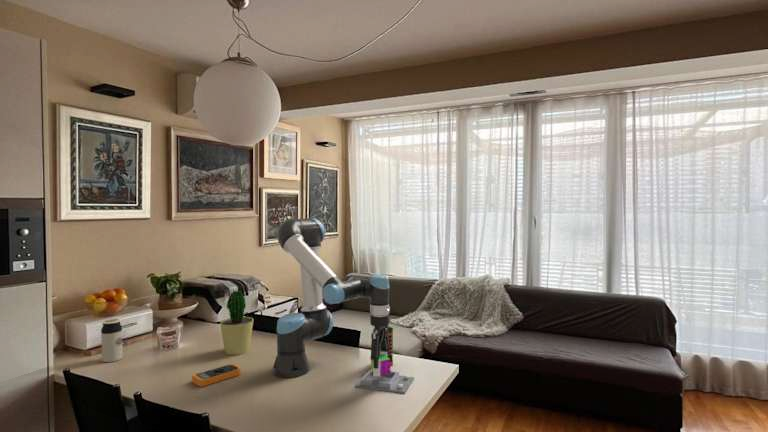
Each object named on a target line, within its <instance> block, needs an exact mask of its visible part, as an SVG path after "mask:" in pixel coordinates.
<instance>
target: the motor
mask: <svg viewBox="0 0 768 432" xmlns="http://www.w3.org/2000/svg"><path fill="white" fill-rule="evenodd" d="M374 329H375V327H373V329H372V333H374ZM388 339H389V348H388V349H389V351H387V357H388V358H390V368H392V367H393V365H394V359H393V358H394V357H393V356H394V355H393V354H394V353H393V351H394V350H393V349H394V327H392V326H388ZM380 352H381V348H380ZM391 366H392V367H391Z"/></svg>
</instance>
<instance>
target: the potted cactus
mask: <svg viewBox="0 0 768 432" xmlns="http://www.w3.org/2000/svg"><path fill="white" fill-rule="evenodd" d="M226 298H227V301H226V304H225V305H226V306H225V308H226V311H228V314H229V317H228V318H224V319H222V320H221V321H220V322H219V324H220V332H221V336H222V343H223V344H222V345H223V349H224V354H225V355H228V356H239V355H243V354H246V352H247V353H248V352H250V349H251V343H252V341H251V340H252V334H253V326H254V321H255V320H254V318H253V317H249V316H245V315H244V314H246V312H245V310H246V309H247V304H248V303H247V302H246V298H245V296H244V293H243V291H242V290H232V291H231V293H229V294H228V297H226Z"/></svg>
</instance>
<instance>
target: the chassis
mask: <svg viewBox="0 0 768 432" xmlns="http://www.w3.org/2000/svg"><path fill="white" fill-rule="evenodd" d="M390 371H391V373H390V374H386V375H381V376H380V377H379V376H373V372H371V368H370V369H369V370H368V371H366V373H365V374H363V376H362V377H361V378H360V379H359V380H358V381H357V382H356V383H355V384H354V388H359V389H366V390H373V391H381V392H390V393H396V394H406V393H407V391H408V389H409V388H410V386H411V385H412V383H413V382H414V380H415V377H414V376H409V375H408V374H405V375H401V374H400V372H399V371H394V370H390Z"/></svg>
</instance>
